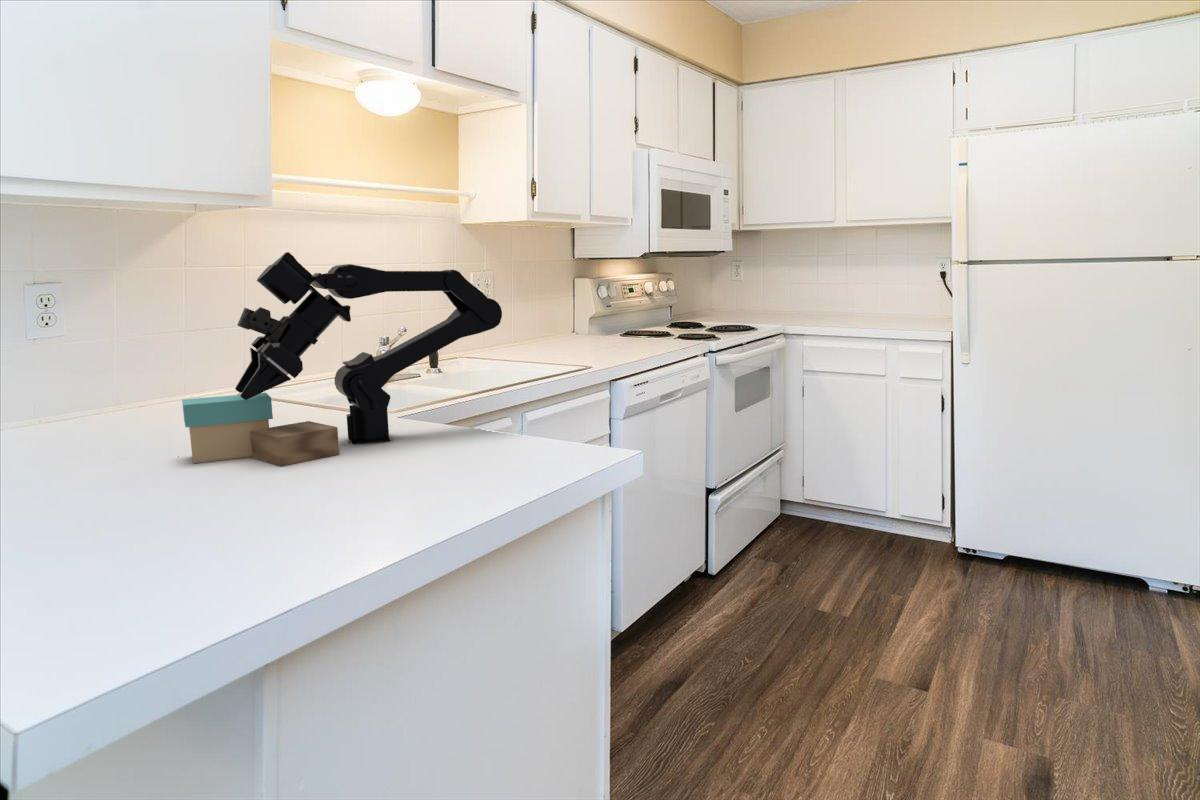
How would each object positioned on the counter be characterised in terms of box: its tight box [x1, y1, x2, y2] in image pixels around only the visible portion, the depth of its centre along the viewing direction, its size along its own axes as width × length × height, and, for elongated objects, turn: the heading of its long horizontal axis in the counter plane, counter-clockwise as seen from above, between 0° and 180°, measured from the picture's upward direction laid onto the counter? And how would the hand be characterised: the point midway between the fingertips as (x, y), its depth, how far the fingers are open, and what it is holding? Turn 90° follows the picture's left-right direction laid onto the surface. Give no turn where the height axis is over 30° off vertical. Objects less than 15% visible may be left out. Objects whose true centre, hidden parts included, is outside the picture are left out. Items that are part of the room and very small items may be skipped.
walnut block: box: [250, 420, 340, 467], centre depth 127 cm, size 10×9×4 cm
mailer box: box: [188, 419, 270, 464], centre depth 128 cm, size 11×5×9 cm, turn 119°
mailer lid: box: [181, 392, 274, 428], centre depth 127 cm, size 13×7×4 cm, turn 119°
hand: (240, 394), depth 128 cm, fingers open, 9 cm apart
